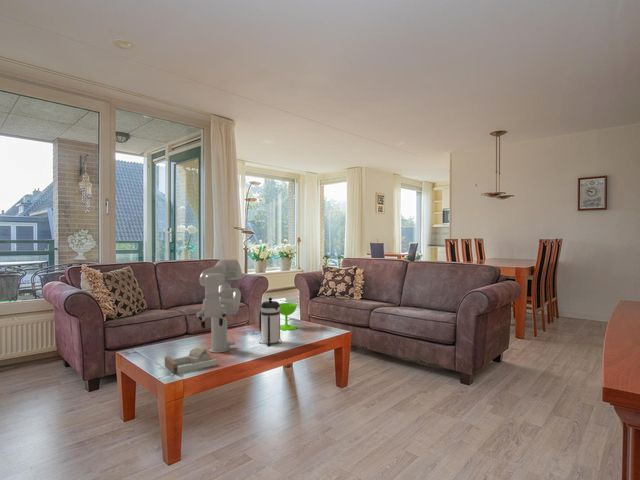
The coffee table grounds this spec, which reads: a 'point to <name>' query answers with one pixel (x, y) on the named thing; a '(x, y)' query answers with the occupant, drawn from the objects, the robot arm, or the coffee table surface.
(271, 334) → the coffee press
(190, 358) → the fossil replica
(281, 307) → the wineglass
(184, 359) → the channel
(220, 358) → the coffee table surface
